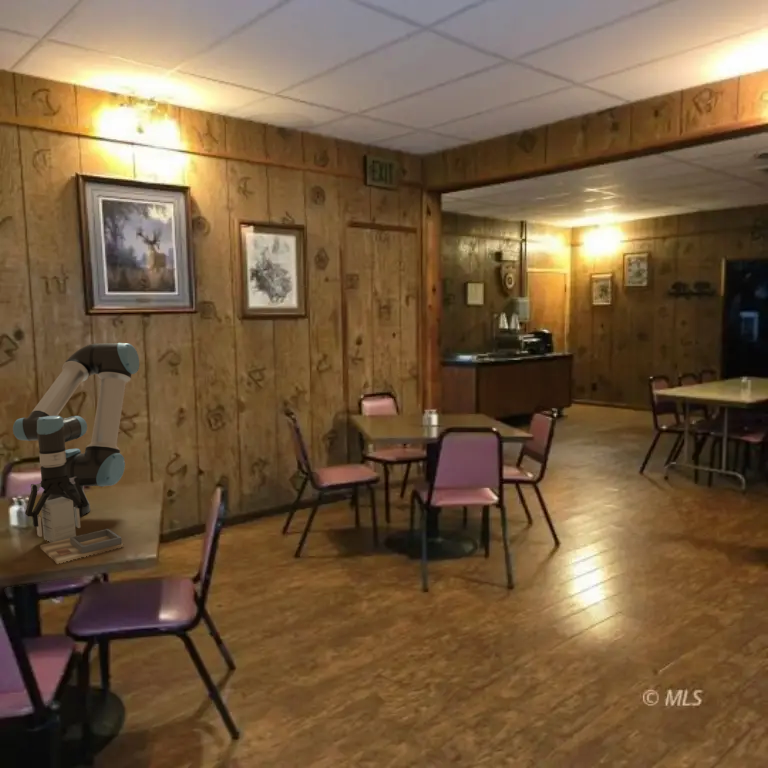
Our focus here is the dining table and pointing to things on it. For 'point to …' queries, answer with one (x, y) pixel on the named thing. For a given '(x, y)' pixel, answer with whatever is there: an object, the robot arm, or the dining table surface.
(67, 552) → the board
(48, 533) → the supplement box
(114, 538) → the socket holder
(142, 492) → the dining table surface
